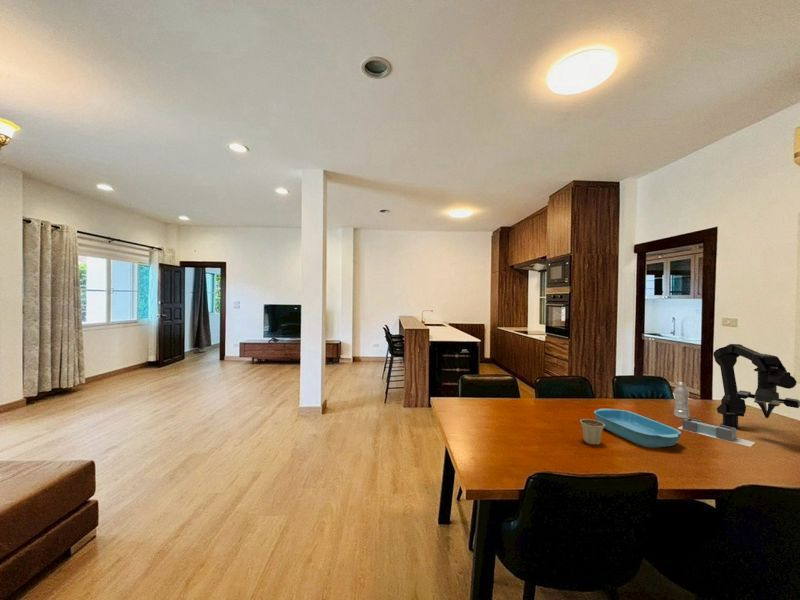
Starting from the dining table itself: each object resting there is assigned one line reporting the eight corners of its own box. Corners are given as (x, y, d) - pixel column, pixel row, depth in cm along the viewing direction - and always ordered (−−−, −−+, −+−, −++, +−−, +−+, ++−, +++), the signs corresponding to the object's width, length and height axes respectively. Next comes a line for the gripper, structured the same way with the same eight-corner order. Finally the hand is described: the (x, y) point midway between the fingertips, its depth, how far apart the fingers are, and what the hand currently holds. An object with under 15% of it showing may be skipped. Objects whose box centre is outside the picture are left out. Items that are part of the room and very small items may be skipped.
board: (683, 426, 166) (683, 424, 166) (755, 444, 146) (755, 442, 146) (677, 429, 161) (677, 428, 161) (750, 448, 141) (750, 446, 141)
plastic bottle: (692, 420, 175) (692, 383, 175) (678, 419, 176) (678, 382, 177) (684, 417, 181) (684, 381, 182) (671, 416, 183) (671, 380, 183)
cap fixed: (687, 426, 164) (687, 417, 164) (701, 429, 160) (701, 420, 160) (682, 429, 160) (682, 420, 160) (696, 432, 156) (696, 423, 156)
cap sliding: (731, 441, 146) (731, 431, 146) (716, 437, 150) (716, 427, 150) (736, 437, 150) (736, 428, 150) (720, 434, 154) (720, 424, 154)
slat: (691, 428, 161) (691, 420, 161) (731, 438, 150) (731, 429, 150) (689, 429, 159) (689, 421, 159) (729, 440, 148) (729, 431, 148)
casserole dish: (694, 450, 138) (694, 433, 138) (650, 454, 134) (650, 436, 134) (621, 420, 174) (621, 407, 174) (584, 422, 170) (584, 408, 170)
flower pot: (601, 439, 148) (601, 420, 148) (607, 448, 139) (607, 427, 139) (578, 436, 151) (578, 417, 151) (582, 444, 142) (582, 424, 142)
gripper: (732, 380, 150) (732, 414, 150) (796, 390, 134) (796, 428, 134) (739, 378, 156) (739, 410, 156) (800, 386, 141) (800, 423, 140)
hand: (766, 417), depth 146 cm, fingers closed
